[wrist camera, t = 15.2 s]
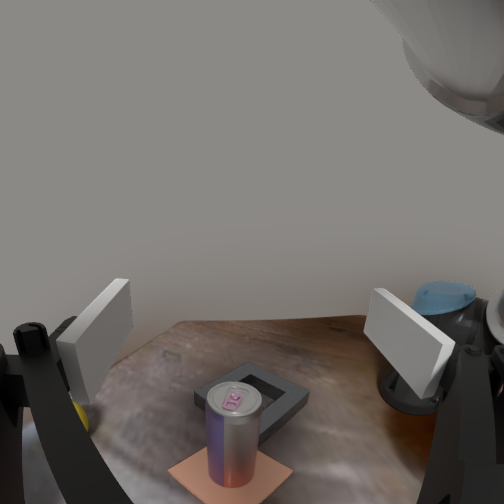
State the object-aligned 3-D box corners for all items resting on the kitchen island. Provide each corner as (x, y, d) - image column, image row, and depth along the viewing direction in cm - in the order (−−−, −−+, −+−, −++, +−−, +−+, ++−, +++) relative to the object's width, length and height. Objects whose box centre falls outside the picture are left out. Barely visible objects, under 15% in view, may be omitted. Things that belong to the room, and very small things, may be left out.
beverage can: (201, 481, 29) (195, 406, 26) (218, 453, 35) (218, 375, 31) (245, 495, 28) (253, 423, 24) (259, 464, 33) (270, 387, 30)
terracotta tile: (228, 433, 40) (228, 431, 39) (292, 472, 32) (293, 470, 32) (168, 472, 30) (167, 469, 30) (234, 525, 23) (234, 523, 23)
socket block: (247, 373, 56) (248, 361, 56) (307, 403, 48) (310, 390, 47) (194, 403, 46) (194, 391, 45) (258, 446, 37) (259, 434, 37)
